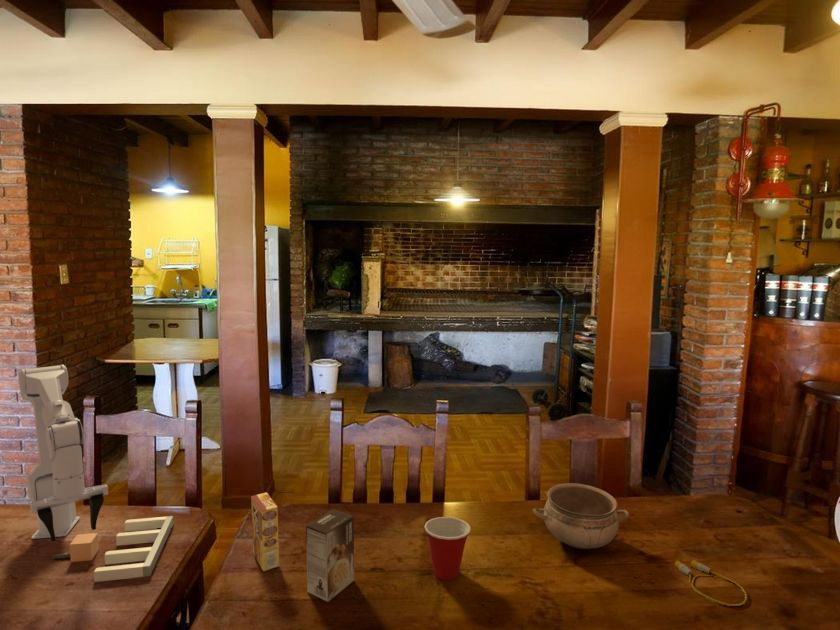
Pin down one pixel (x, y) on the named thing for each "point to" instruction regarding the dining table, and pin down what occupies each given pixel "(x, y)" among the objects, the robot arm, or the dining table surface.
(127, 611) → the dining table surface
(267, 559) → the candy box
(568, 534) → the cooking pot
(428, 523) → the plastic cup
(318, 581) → the coffee box
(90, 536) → the tan handled block
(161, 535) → the cord comb
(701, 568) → the yellow looped cord
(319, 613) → the dining table surface
